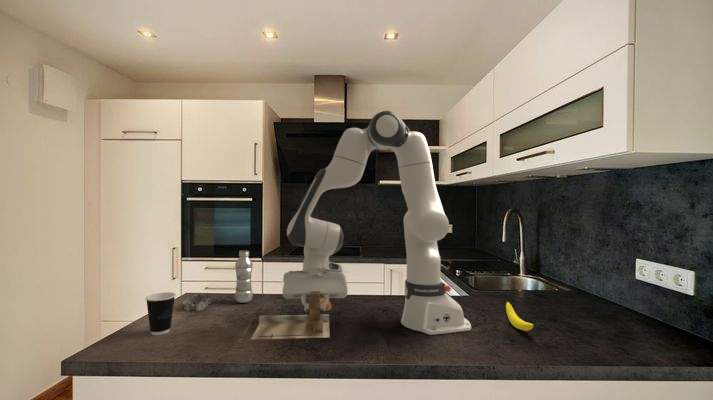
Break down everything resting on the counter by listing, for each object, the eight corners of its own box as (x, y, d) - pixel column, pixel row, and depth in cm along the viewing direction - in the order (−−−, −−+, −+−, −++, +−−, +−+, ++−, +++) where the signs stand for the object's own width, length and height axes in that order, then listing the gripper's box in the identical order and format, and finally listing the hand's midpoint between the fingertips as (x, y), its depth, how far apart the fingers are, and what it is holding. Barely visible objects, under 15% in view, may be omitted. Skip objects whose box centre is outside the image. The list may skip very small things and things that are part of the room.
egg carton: (201, 312, 120) (201, 300, 120) (180, 311, 120) (180, 300, 120) (214, 302, 131) (214, 292, 131) (195, 302, 131) (195, 291, 131)
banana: (527, 341, 99) (528, 319, 99) (502, 318, 118) (502, 300, 118) (537, 341, 98) (538, 320, 98) (510, 318, 117) (511, 300, 117)
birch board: (329, 325, 109) (329, 314, 109) (329, 342, 96) (329, 330, 96) (259, 326, 107) (259, 315, 107) (250, 344, 94) (251, 332, 94)
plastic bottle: (247, 305, 127) (247, 252, 127) (231, 303, 128) (231, 252, 128) (255, 300, 133) (256, 250, 133) (240, 298, 135) (240, 249, 135)
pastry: (335, 314, 120) (335, 303, 120) (317, 316, 117) (317, 305, 117) (328, 306, 128) (328, 296, 128) (310, 308, 126) (311, 297, 126)
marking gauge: (322, 324, 105) (323, 289, 105) (322, 334, 98) (323, 296, 98) (306, 324, 105) (307, 289, 105) (305, 334, 97) (306, 296, 97)
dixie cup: (155, 326, 105) (155, 291, 105) (180, 327, 105) (180, 292, 105) (138, 337, 97) (139, 299, 97) (165, 337, 97) (166, 300, 97)
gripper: (283, 265, 108) (278, 305, 98) (346, 265, 109) (348, 304, 100) (284, 276, 112) (280, 315, 102) (345, 275, 114) (347, 314, 104)
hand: (314, 310), depth 101 cm, fingers open, 3 cm apart
